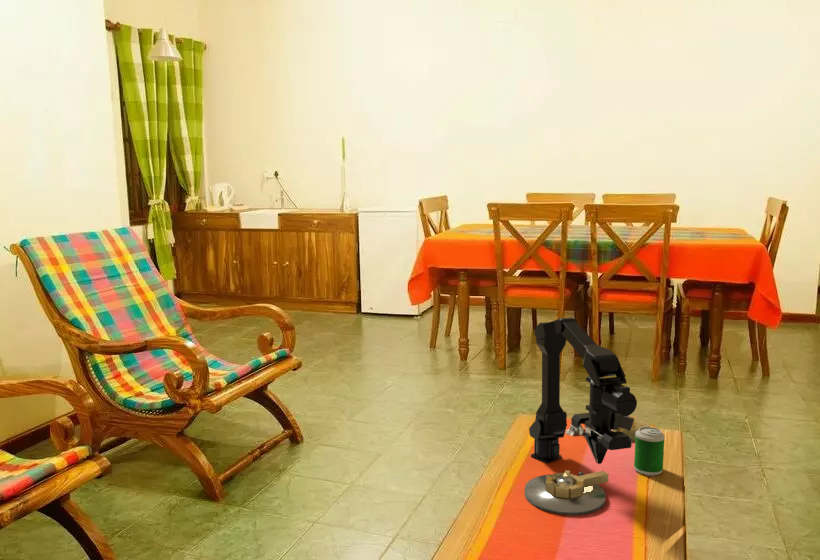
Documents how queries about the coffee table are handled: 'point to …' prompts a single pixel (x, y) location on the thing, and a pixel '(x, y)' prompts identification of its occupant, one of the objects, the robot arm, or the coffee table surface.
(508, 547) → the coffee table surface
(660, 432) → the soda can
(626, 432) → the brown rock
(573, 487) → the brass ring wrench
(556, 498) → the flange
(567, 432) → the grey rock pile
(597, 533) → the coffee table surface
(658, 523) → the coffee table surface
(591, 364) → the robot arm
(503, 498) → the coffee table surface
